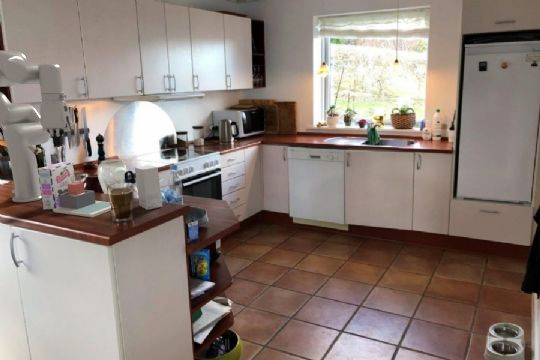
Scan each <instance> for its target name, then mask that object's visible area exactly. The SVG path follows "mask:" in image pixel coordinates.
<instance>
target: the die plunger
mask: <svg viewBox="0 0 540 360" xmlns="http://www.w3.org/2000/svg"><path fill="white" fill-rule="evenodd" d="M67 185H68V192H69V194H68V195H73V196H77V195H80V194H84V193H85V192H84V190H85V185H84V182H82V181H75V182H74V183H70V184H67Z"/></svg>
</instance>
